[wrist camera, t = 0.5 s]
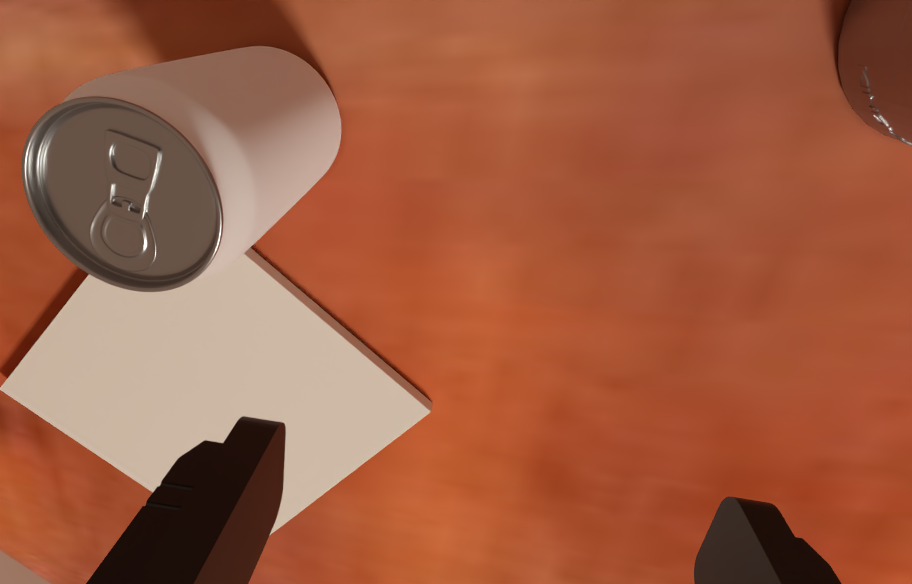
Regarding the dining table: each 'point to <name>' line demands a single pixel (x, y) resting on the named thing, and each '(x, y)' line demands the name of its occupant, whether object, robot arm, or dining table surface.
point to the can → (179, 163)
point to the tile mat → (214, 377)
